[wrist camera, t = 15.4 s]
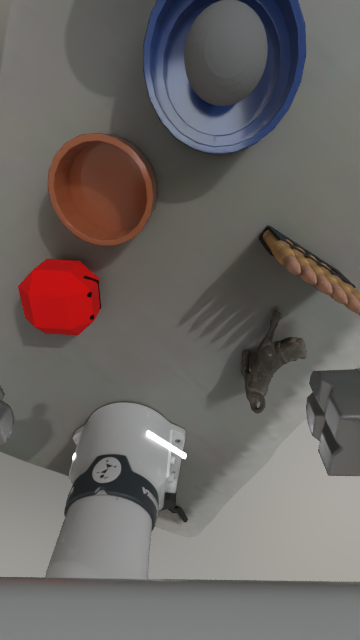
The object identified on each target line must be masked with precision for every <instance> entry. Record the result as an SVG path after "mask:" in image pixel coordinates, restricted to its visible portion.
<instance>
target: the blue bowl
mask: <svg viewBox="0 0 360 640" xmlns="http://www.w3.org/2000/svg"><path fill="white" fill-rule="evenodd" d="M218 1H221V0H157V2H156V4H155V6H154V8H153V10H152V12H151V15H150V18H149V22H148V27H147V31H146V35H145V39H144V59H143V71H144V77H145V82H146V86H147V90H148V95H149V98H150V101H151V103H152V105H153V107H154V109H155V111H156V113H157V115H158V117H159V119H160V121H161V122H162V123H163V125H164V126H165V127H166V128H167V129H168V130H169V131H170V132H171V134H172V135H173V136H174V137H175V138H176V139H178V140H179V141H181V142H183V143H184V144H186V145H187V146H189V147H191V148H192V149H195V150H198V151H202V152H207V153H211V154H223V153H234V152H237V151H239V150H242V149H244V148H247V147H249V146H252V145H254V144H256V143H257V142H258V141H259V140H261V139H262V138H263V137H265V136H266V135H267V134H268V133H270V132H271V131H272V130H273V129H274V128H275V127H276V125H277V124H278V123H279V121H280V120H281V119H282V118H283V116H284V115H285V114H286V112H287V111H288V110H289V108H290V106H291V103H292V101H293V99H294V97H295V94H296V92H297V90H298V88H299V85H300V83H301V78H302V73H303V68H304V63H305V58H306V33H305V22H304V18H303V15H302V11H301V8H300V4H299V1H298V0H238V1H240V2H243V3H245V4H247V5H248V6H249V7H251V8H252V9H253V10H254V11H255V12H256V14H257V15H258V16H259V18H260V20H261V22H262V23H263V26H264V29H265V32H266V37H267V45H268V51H267V61H266V66H265V69H264V72H263V75H262V77H261V79H260V81H259V83H258V84H257V86H256V87H255V88H254V90H253V91H252V92H251V93H250V94H249V95H248V96H247V97H246V98H244V99H243V100H241V101H240V102H238V103H236V104H233V105H230V106H215V105H212V104H209V103H207V102H205V101H204V100H202V99H201V98H200V97H199V96H198V95H197V94H196V93H195V92H194V90H193V88H192V87H191V85H190V83H189V81H188V78H187V75H186V71H185V65H184V50H185V43H186V39H187V35H188V33H189V31H190V28H191V26H192V24H193V23H194V21H195V20H196V18H197V17H198V16H199V15H200V14H201V12H202V11H203V10H204V9H206V8H207V7H209V6H210V5H211V4H213V3H216V2H218Z"/></svg>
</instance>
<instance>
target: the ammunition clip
mask: <svg viewBox="0 0 360 640" xmlns="http://www.w3.org/2000/svg"><path fill="white" fill-rule="evenodd" d="M259 240H260V241H261V243H262V244H263V246H264V247H265V248H266V250H267V251H268V253H269V254H271V255H272V256H274V257H275V258H276V259H277V261H278V262H279V263H280V264H282V265H283V266H284V267H285V268H286V269H287V270H288V271H289V272H291V273H292V274H295V275H299V276H300V277H301V278H302V279H303V280H304V281H305V282H307V283H308V284H311V285H314V286H315V287H316V288H317V289H318V290H320V291H321V292H323V293H325V294H328V295H330V296H331V298H333V299H334V300H335V301H337V302H339V303H341V304H344V305H345V306H346V307H347V308H348V309H350V310H351V311H353V312H355V313H358V314H359V315H360V293H359V292H358V291H357V290H356V289H355V286H354V285H353V284H352V283H351V282H350V281H349V280H348V279H347V278H346V277H345V276H344V275H342V274H341V273H340V272H339V271H338V270H336V269H335V268H333V267H332V266H330V265H329V264H327V263H326V262H324V261H323V260H321V259H320V258H318V257H317V256H315V255H314V254H312V253H311V252H309V251H307V250H306V249H304V248H303V247H301V246H300V245H298V244H297V243H295V242H294V241H292V240H291V239H289V238H288V237H286V236H285V235H283V234H281V233H280V232H278V231H277V230H275V229H274V228H272V227H271V226H267V227H266V229H265V230H264V232H263V233H262V234H261V236H260V237H259Z"/></svg>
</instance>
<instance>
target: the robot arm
mask: <svg viewBox="0 0 360 640" xmlns="http://www.w3.org/2000/svg"><path fill="white" fill-rule="evenodd" d="M309 384H310V387H311V389H312V391H313V393H312V394H311V395H310V396H309V397H307V405H306V411H307V420H308V424H309V427H310V430H311V433H312V435H313V436H314V437H315V438H316V439H318V440H319V441H320V444H319V450H318V451H319V454H320V456H321V458H322V461H323V464H324V466H325V468H326V471H327V473H328V475H329V476H360V369H351V370H327V371H313V372H312V374H311V377H310V383H309ZM3 397H4V392H3V390H2V388H1V386H0V446H1V445H2V444H4V443H5V442H6V441H7V440H8V438H9V436H10V435H11V433H12V429H13V425H14V416H13V412H12V409H11V407H10V406H9V405H8V404H6V403H5V402H4V401H2V399H3ZM185 436H186V432H185V430H184V429H183V428H181V427H179V426H176V425H174V424H172V423H170V422H168V421H167V420H166V419H165V418H164V417H163V416H162V415H160V414H159V413H158V412H156V411H155V410H153V409H151V408H149V407H146V406H143V405H140V404H135V403H126V402H122V403H113V404H109V405H106V406H103V407H101V408H99V409H98V410H96V411H95V412H94V413H93V414H92V415H91V416H90V417H89V419H88V421H87V423H86V424H85V425H84V426H82V427H81V428H79V429H77V430H76V431H75V432H74V435H73V441H74V442H75V444H76V445H77V448H76V451H75V453H74V455H73V457H72V459H73V461H72V464H71V468H70V471H69V478H70V479H71V481H72V483H73V486H72V489H71V490H70V492H69V495H68V498H67V503H66V507H65V512H64V514H65V520H64V522H63V525H62V528H61V531H60V534H59V537H58V540H57V543H56V545H55V548H54V551H53V554H52V557H51V560H50V563H49V566H48V569H47V571H46V577H45V578H33V577H29V578H28V577H0V640H360V582H329V581H324V582H323V581H256V580H253V581H252V580H183V579H182V580H181V579H176V580H175V579H148V566H149V551H150V540H151V532H152V530H153V529H154V527H155V523H156V520H157V516H158V511H160V510H164V509H168V510H170V511H171V512H172V513H177V512H178V513H179V514H180V516H181V518H182V520H183V521H184V522H187V520H188V519H187V517H186V515H185V514H184V512H183V510H182V509H181V508H180V507H178V506H177V507H175V506H176V487H177V482H178V476H179V471H180V465H181V459H182V458H184V459H186V454H185V453H184V452H183V448H184V442H185ZM174 507H175V508H174Z"/></svg>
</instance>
